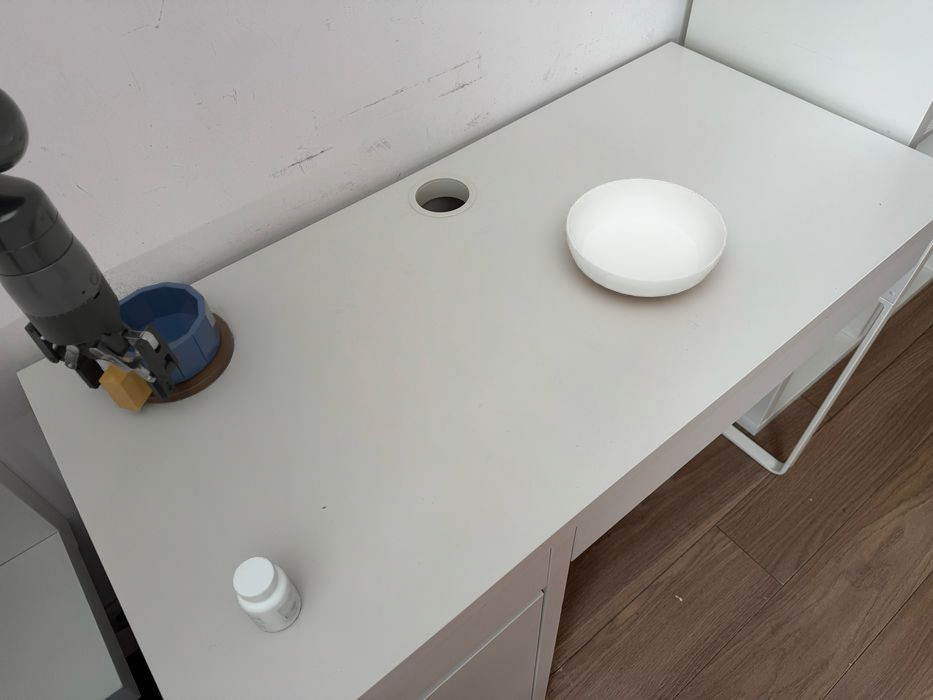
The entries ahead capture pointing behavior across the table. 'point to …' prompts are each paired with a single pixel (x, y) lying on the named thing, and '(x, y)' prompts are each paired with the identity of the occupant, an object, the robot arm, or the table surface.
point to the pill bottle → (266, 594)
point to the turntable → (209, 372)
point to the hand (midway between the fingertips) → (133, 388)
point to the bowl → (645, 236)
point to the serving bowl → (164, 337)
